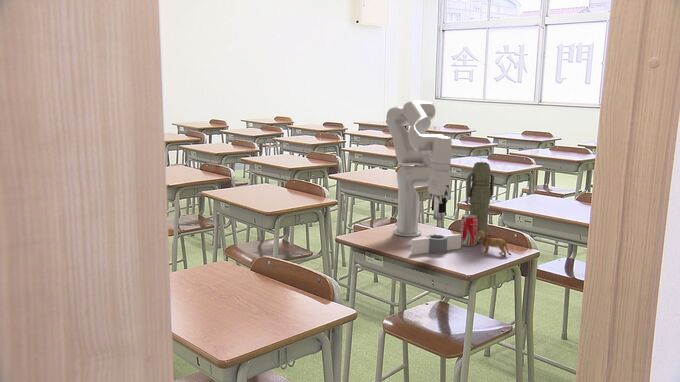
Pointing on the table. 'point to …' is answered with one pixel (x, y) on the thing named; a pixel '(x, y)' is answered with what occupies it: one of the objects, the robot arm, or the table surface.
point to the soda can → (469, 230)
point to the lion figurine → (491, 242)
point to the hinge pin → (436, 207)
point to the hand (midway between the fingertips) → (438, 211)
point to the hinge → (435, 244)
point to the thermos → (480, 193)
